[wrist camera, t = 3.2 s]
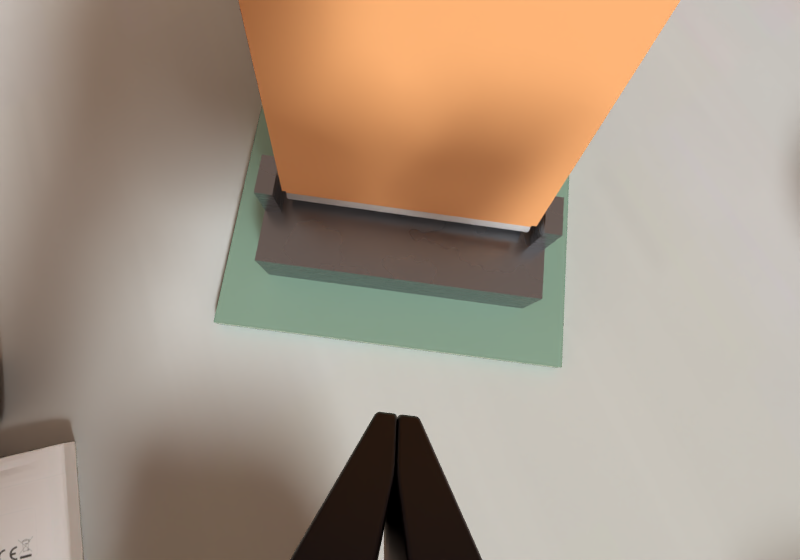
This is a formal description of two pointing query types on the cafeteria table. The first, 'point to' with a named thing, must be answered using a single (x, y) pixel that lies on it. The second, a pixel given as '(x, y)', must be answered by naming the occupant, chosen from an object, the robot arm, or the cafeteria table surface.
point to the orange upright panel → (441, 98)
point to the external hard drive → (40, 505)
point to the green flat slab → (386, 300)
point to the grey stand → (401, 249)
